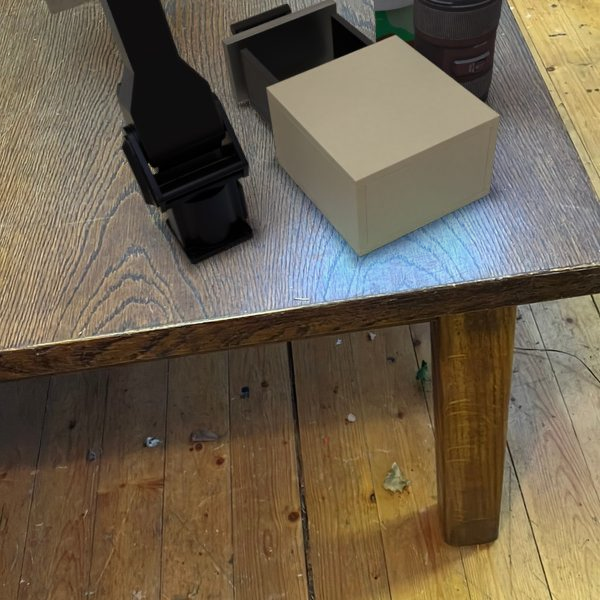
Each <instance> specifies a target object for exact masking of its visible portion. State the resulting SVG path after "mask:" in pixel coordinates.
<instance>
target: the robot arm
mask: <svg viewBox="0 0 600 600" xmlns="http://www.w3.org/2000/svg"><path fill="white" fill-rule="evenodd" d="M99 3H100V5H101V9H102V10H103V13H104V16H105V18H106V21H107V24H108V27H109V29H110V33H111V34H112V37H113V39H114V42H115V44H116V48H117V49H118V52H119V55H120V58H121V60H122V64H123V69H122V70H123V71H122V76H121V81H120V82H118V83H117V84H116V98H117V103H118V106H119V108H120V111H121V114H122V116H123V119H124V121H125V122H124V123H125V126H122V127H121V133H122V136H121V139H122V144H121V147H120V148H121V151H122V153H123V155H124V157H125V160H126V162H127V164H128V166H129V168H130V170H131V173H132V175H133V177H134V180H135V181H136V184H137V186H138V189H139V191H140V194H141V197H142V200H143V202H144V203H145V205H147V206H148V205H150V206H154V207H156V209H158V210H159V212H160V214H165V213H166V215H167V218H166V220H165V225H166V227H167V228H168V230H169V231H170V233H171V235H172V237H173V238H174V240H175V241H176V242H177V244H178V245H179V248H180V249H181V250H182V252H183V254H184V255H185V257H186V259H187V260H188V262H189V263H191V264H197V263H199V262H201V261H203V260H206V259H207V258H209V257H212V256H214V255H216V254H218V253H220V252H223V251H225V250H227V249H229V248H232V247H234V246H236V245H237V244H240V243H243V242H244V241H247V240H248V239H251V238H252V237H253V236H254V230H253V229H252V227H251V225H250V224H249V223H248V222H247V219H249V216H250V213H249V209H248V204H247V200H246V195H245V191H244V186H243V184H242V183H241V181H240V179H245V178H248V177H249V176H250V164H249V161H248V158H247V157H246V154H245V152H244V150H243V147H242V145H241V143H240V141H239V139H238V136H237V134H236V132H235V130H234V128H233V125H232V123H231V120H230V119H229V117H228V114H227V112H226V110H225V108H224V105H223V104H222V101H221V100H220V97H219V96H218V95H217V93H215V92H214V91H212V87H211V85H210V83H209V81H208V80H207V79H206V78H205V77H204V76H203V75H201V74H200V73H199V72H198V71H197V70H196V69H194V68H193V67H192V66H191V65H190V64H189V63H188V62H187V61H186V60H184V59H183V58H182V57H181V56H180V53H179V52H178V48H177V45H176V42H175V40H174V36H173V34H172V31H171V28H170V25H169V22H168V19H167V15H166V12H165V9H164V6H163V4H162V3H163V2H162V0H99ZM151 168H152V169H153V171H154V172H155V173H153V172H152V170H151Z"/></svg>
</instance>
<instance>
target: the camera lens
mask: <svg viewBox="0 0 600 600" xmlns="http://www.w3.org/2000/svg"><path fill="white" fill-rule="evenodd" d="M502 7H503V0H413V25H414V49H415V50H416V51H417V52H419V53H420V54H421V55H422V56H424V57H425V58H426V59H428V60H429V61H430V62H432V63H433V64H434V65H435V66H437V67H438V68H439V69H441V70H442V71H443V72H444V73H446V74H447V75H448V76H450V77H451V78H452V79H454V80H455V81H456V82H457V83H459V84H460V85H461V86H463V87H464V88H465V89H467V90H468V91H469V92H470V93H472V94H473V95H474V96H476V97H477V98H478V99H479V100H481V101H482V102H483V103H485V104H486V102H487V100H488V98H489V93H490V88H491V85H492V80H493V74H494V58H495V48H496V42H497V41H496V40H497V31H498V28H499V26H500V19H501V15H502V9H503V8H502Z"/></svg>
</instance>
